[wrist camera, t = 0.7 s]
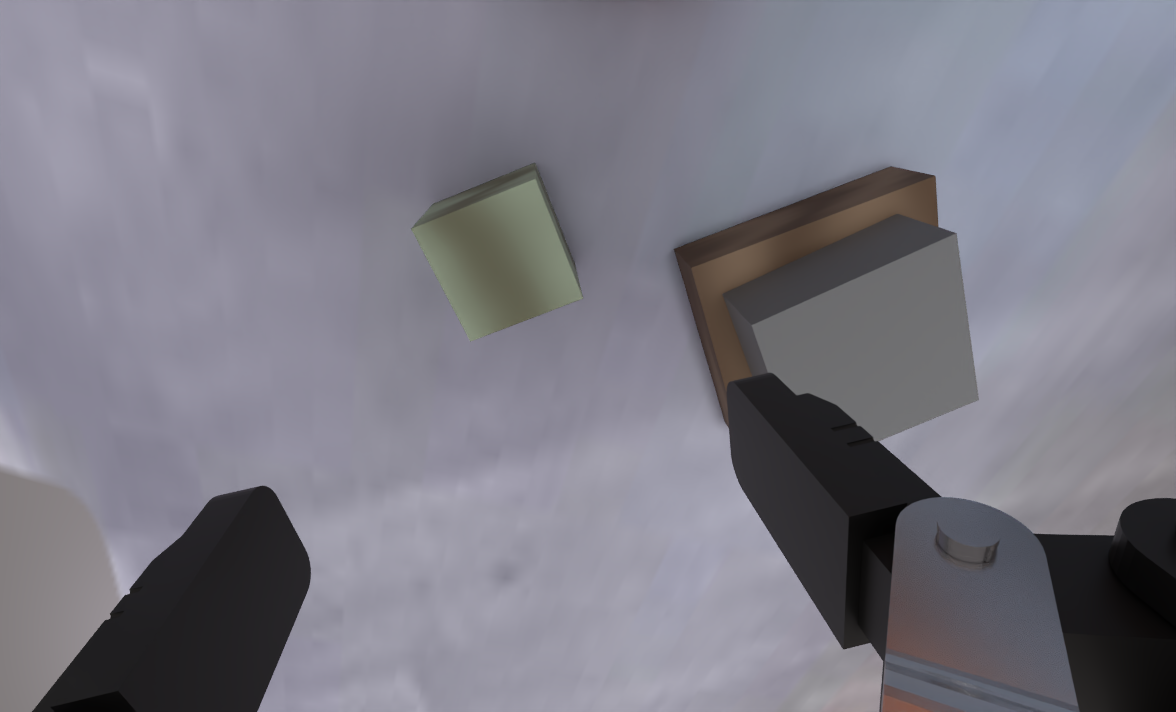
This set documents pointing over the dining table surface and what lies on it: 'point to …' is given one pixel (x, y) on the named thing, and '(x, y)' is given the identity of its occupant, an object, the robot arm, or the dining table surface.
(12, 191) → the dining table surface
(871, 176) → the bottom slab
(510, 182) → the green cube
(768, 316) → the top slab
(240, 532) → the robot arm
